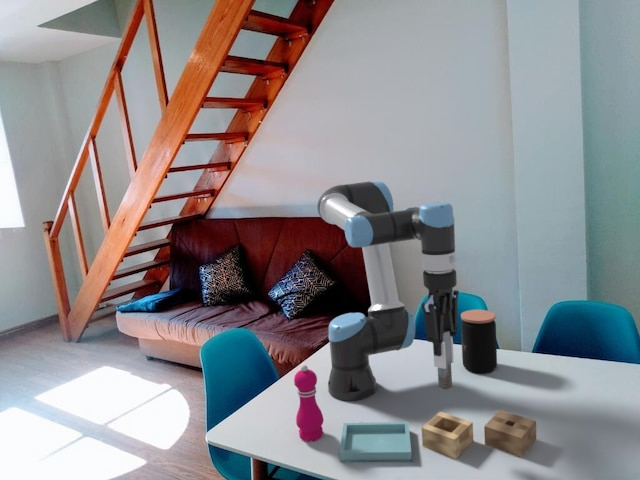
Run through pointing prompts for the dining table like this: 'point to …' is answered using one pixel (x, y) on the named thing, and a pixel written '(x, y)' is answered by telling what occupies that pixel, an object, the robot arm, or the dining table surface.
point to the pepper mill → (308, 406)
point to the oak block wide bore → (447, 434)
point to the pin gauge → (446, 373)
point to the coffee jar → (479, 341)
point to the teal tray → (375, 442)
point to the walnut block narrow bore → (510, 433)
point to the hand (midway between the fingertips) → (444, 364)
